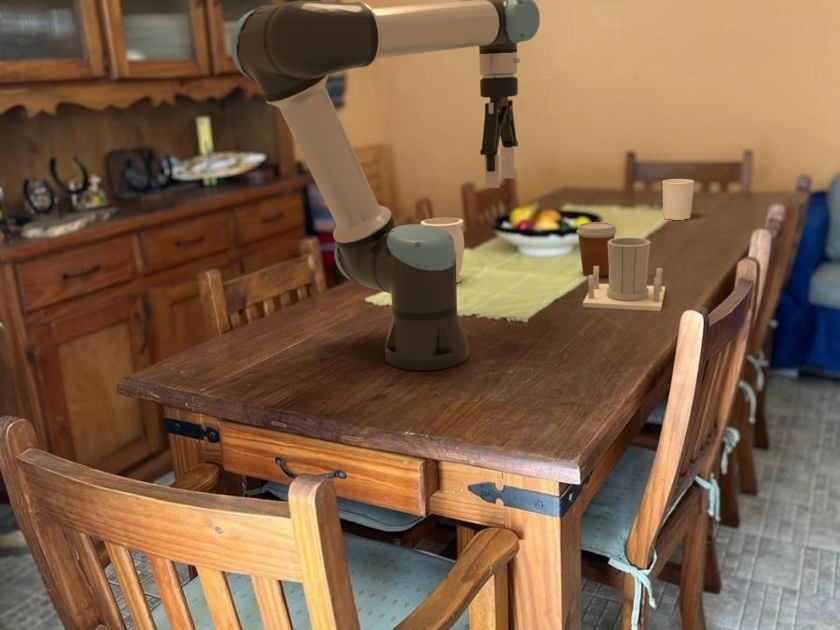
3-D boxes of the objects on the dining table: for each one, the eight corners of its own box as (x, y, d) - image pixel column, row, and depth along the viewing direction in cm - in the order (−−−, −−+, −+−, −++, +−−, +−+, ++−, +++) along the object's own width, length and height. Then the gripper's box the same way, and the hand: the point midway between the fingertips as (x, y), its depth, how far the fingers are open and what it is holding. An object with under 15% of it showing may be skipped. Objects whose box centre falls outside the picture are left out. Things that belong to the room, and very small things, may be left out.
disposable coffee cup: (571, 276, 197) (571, 228, 194) (582, 267, 205) (583, 221, 202) (609, 279, 193) (610, 230, 190) (620, 270, 201) (621, 222, 198)
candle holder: (654, 218, 264) (655, 181, 260) (677, 214, 268) (679, 178, 264) (675, 222, 255) (677, 184, 252) (699, 218, 259) (701, 181, 256)
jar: (461, 287, 193) (459, 225, 188) (419, 286, 195) (416, 225, 191) (468, 276, 203) (466, 216, 198) (427, 275, 205) (425, 217, 200)
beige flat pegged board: (660, 311, 168) (662, 283, 166) (582, 307, 173) (583, 279, 171) (665, 290, 182) (666, 264, 180) (592, 287, 187) (593, 262, 185)
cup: (591, 295, 178) (592, 241, 174) (616, 286, 183) (618, 234, 180) (632, 303, 170) (634, 247, 166) (657, 294, 176) (659, 240, 172)
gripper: (502, 77, 150) (504, 192, 156) (529, 74, 172) (530, 174, 179) (463, 79, 152) (466, 191, 159) (495, 75, 175) (497, 174, 181)
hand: (500, 182), depth 169 cm, fingers open, 13 cm apart
